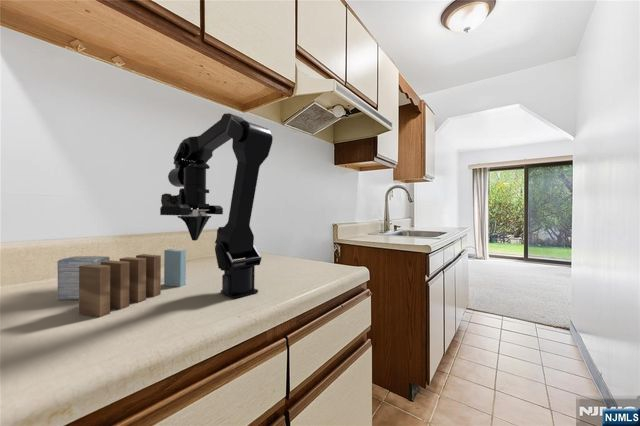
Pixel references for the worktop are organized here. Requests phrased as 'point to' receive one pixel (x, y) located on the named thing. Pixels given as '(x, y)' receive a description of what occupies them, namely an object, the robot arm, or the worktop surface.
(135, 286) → the tile
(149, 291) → the tile
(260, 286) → the worktop surface
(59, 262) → the medicine box
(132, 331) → the worktop surface
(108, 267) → the tile
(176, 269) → the tile
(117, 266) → the tile
